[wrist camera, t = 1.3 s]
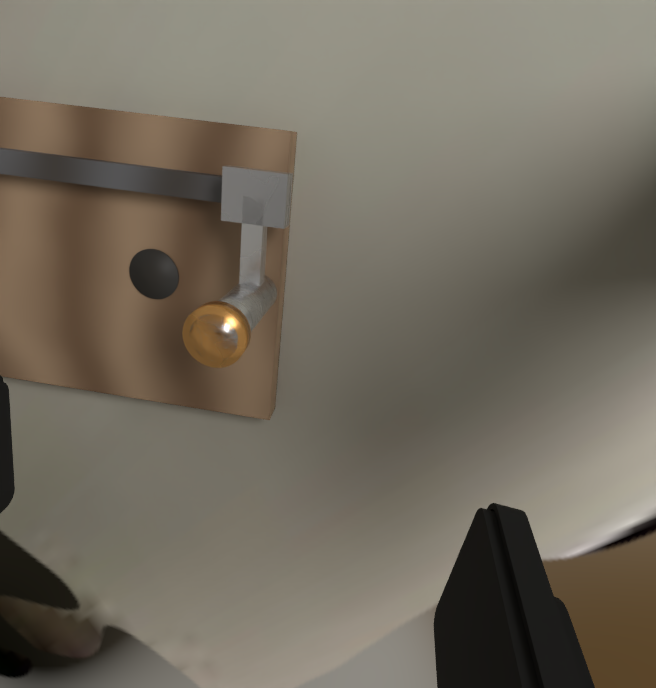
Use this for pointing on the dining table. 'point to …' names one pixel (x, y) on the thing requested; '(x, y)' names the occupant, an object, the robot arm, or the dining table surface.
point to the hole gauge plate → (129, 252)
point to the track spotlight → (242, 266)
